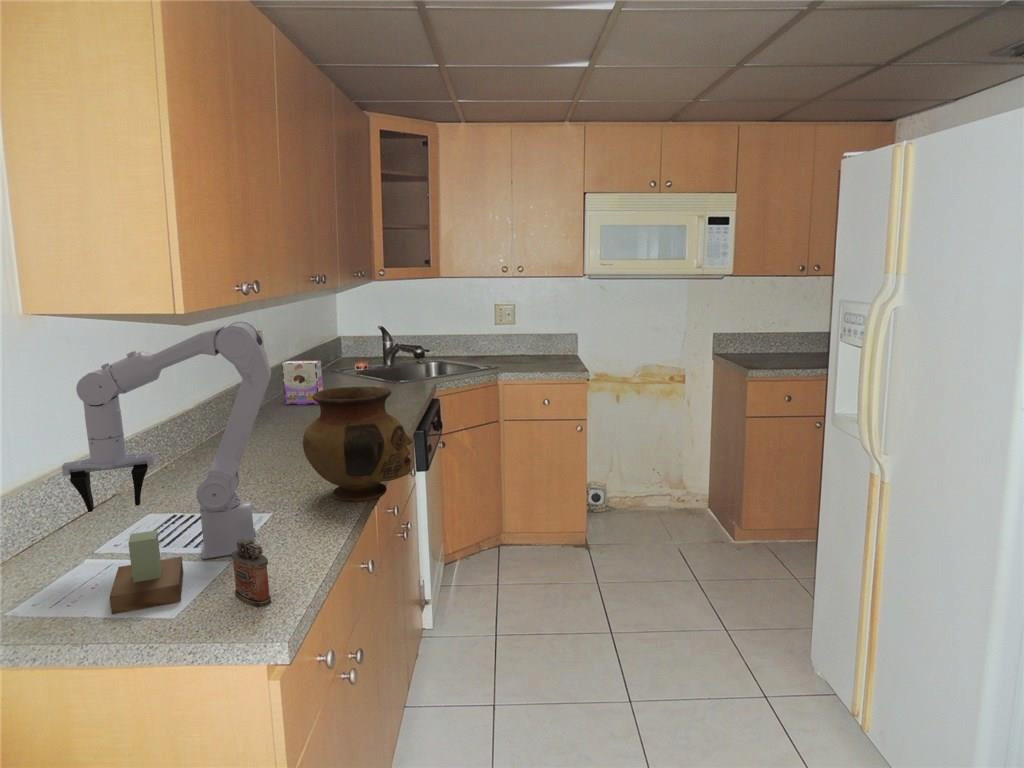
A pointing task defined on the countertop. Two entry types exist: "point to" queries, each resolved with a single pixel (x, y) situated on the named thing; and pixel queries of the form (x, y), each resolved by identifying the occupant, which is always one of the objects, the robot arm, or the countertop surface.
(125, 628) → the countertop surface
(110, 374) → the robot arm
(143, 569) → the block
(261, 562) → the lighter
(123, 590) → the plinth
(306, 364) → the candy box
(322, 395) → the pot
